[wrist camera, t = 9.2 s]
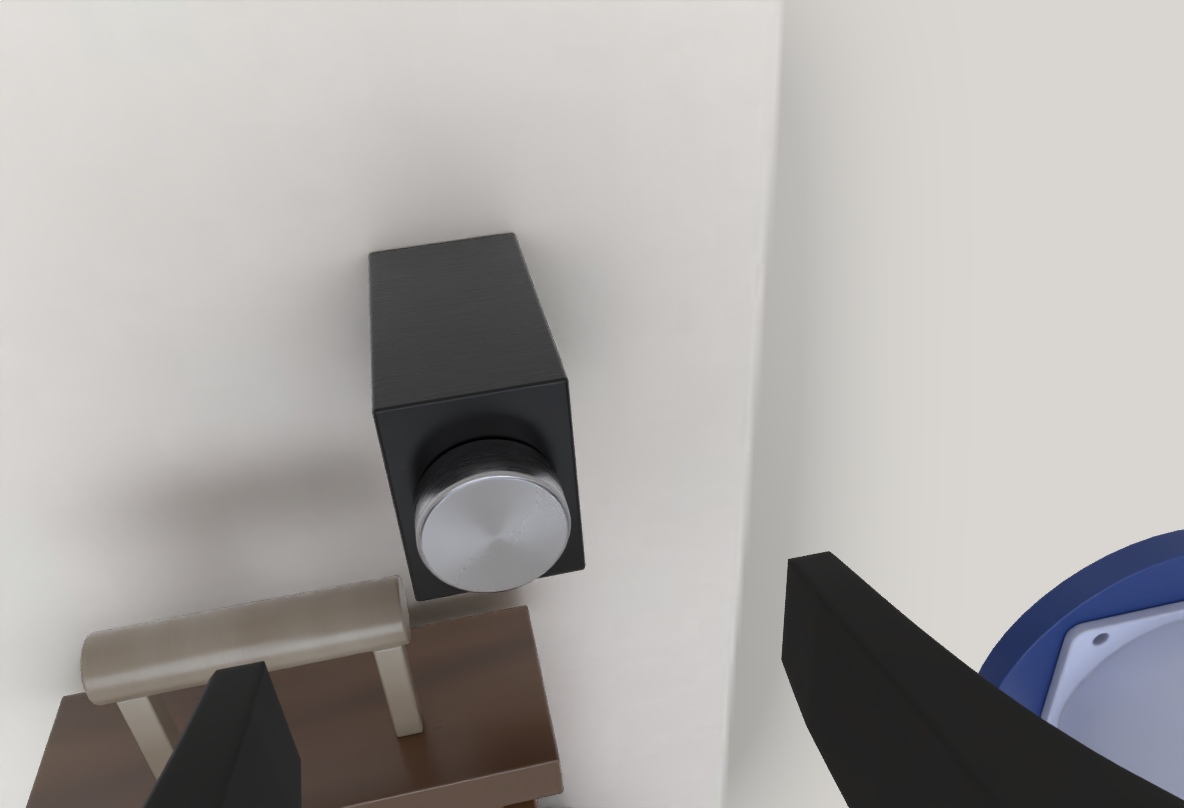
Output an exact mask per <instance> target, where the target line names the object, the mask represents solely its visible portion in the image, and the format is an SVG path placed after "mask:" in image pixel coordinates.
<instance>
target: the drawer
mask: <svg viewBox="0 0 1184 808" xmlns="http://www.w3.org/2000/svg"><path fill="white" fill-rule="evenodd" d="M261 661H264V662H265V664H266V667H267V670H268V672H269V675H270V678H271V680H272V683H273V686H274V689H275V691H276V694H277V697H278V699H279V702H280V705H281V707H282V710H283V713H284V715H285V718H286V721H287V724H288V726H289V729H290V732H291V734H292V737H293V740H294V742H295V745H296V748H297V750H298V753H299V756H300V759H301V794H302V808H538V804H537V799H538V798H542V797H546V796H551V795H555V794H560V793H562V792H563V790H564V788H563V781H562V773H561V766H560V759H559V754H558V749H557V744H556V739H555V735H554V730H553V725H552V720H551V716H550V711H549V706H548V701H547V697H546V692H545V687H544V682H543V678H542V673H541V668H540V663H539V659H538V654H537V649H536V644H535V639H534V635H533V630H532V625H531V620H530V616H529V611H528V607H527V606H526V605H524V606H519V607H514V608H509V609H504V610H499V611H494V612H489V613H484V614H479V615H474V616H469V617H464V618H458V619H453V620H448V621H443V622H438V623H433V624H428V625H423V626H418V627H413V628H410V621H409V613H408V606H407V600H406V595H405V590H404V586H403V582H402V579H401V577H400V576H399V575H394V576H389V577H384V578H378V579H373V580H368V581H363V582H357V583H352V584H347V585H341V586H336V587H331V588H326V589H320V590H315V591H310V592H305V593H299V594H294V595H289V596H283V597H278V598H273V599H268V600H262V601H257V602H252V603H246V604H241V605H236V606H231V607H225V608H220V609H215V610H209V611H204V612H199V613H194V614H188V615H183V616H178V617H172V618H167V619H162V620H157V621H151V622H146V623H141V624H136V625H130V626H125V627H120V628H114V629H109V630H104V631H99V632H93V633H91V634H90V635H89V636H88V637H87V638H86V640H85V642H84V644H83V648H82V653H81V676H82V681H83V686H84V689H85V692H84V693H79V694H74V695H68V696H64V697H63V698H62V700H61V703H60V706H59V709H58V712H57V715H56V718H55V721H54V724H53V727H52V730H51V733H50V736H49V739H48V742H47V745H46V748H45V751H44V754H43V757H42V761H41V764H40V767H39V770H38V773H37V776H36V779H35V782H34V785H33V788H32V791H31V794H30V797H29V800H28V803H27V806H26V808H142V806H143V805H144V803H145V801H146V799H147V798H148V796H149V794H150V792H151V790H152V789H153V787H154V785H155V783H156V782H157V780H158V778H159V776H160V774H161V773H162V771H163V769H164V767H165V765H166V763H167V762H168V760H169V758H170V756H171V754H172V752H173V750H174V748H175V746H176V745H177V743H178V741H179V739H180V737H181V735H182V733H183V731H184V729H185V727H186V725H187V723H188V721H189V719H190V717H191V715H192V713H193V711H194V709H195V707H196V705H197V703H198V701H199V699H200V697H201V695H202V693H203V691H204V689H205V687H206V685H207V683H208V681H209V679H210V677H211V676H212V675H213V674H214V672H215V671H216V670H219V669H225V668H230V667H235V666H240V665H245V664H250V663H256V662H261Z"/></svg>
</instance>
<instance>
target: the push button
mask: <svg viewBox="0 0 1184 808" xmlns="http://www.w3.org/2000/svg"><path fill="white" fill-rule="evenodd" d="M368 261H369V302H370V342H371V383H372V414H373V418H374V422H375V427H376V431H377V435H378V440H379V444H380V448H381V453H382V457H383V461H384V465H385V470H386V474H387V478H388V483H389V487H390V491H391V495H392V500H393V504H394V508H395V513H396V517H397V521H398V525H399V530H400V534H401V538H402V543H403V547H404V551H405V556H406V560H407V564H408V568H409V573H410V577H411V581H412V586H413V590H414V594H415V598H416V600H417V601H425V600H430V599H435V598H440V597H445V596H450V595H456V594H461V593H466V592H475V593H495V592H502V591H507V590H511V589H515V588H518V587H520V586H523V585H525V584H527V583H530V582H532V581H533V580H535V579H538V578H543V577H548V576H553V575H558V574H563V573H568V572H574V571H579V570H583V569H584V568H585V556H584V545H583V534H582V523H581V512H580V501H579V491H578V480H577V469H576V458H575V447H574V436H573V425H572V415H571V404H570V393H569V382H568V378H567V375H566V372H565V370H564V367H563V364H562V362H561V359H560V356H559V353H558V351H557V348H556V345H555V342H554V340H553V337H552V334H551V331H550V329H549V326H548V323H547V321H546V318H545V315H544V312H543V310H542V307H541V304H540V301H539V299H538V296H537V293H536V291H535V288H534V285H533V282H532V280H531V277H530V274H529V271H528V269H527V266H526V263H525V260H524V258H523V255H522V252H521V250H520V247H519V244H518V241H517V239H516V236H515V234H513V233H510V234H503V235H496V236H489V237H482V238H475V239H468V240H461V241H454V242H447V243H440V244H433V245H426V246H419V247H412V248H405V249H398V250H391V251H384V252H377V253H371V254H369V256H368Z"/></svg>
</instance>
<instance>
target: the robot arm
mask: <svg viewBox="0 0 1184 808" xmlns="http://www.w3.org/2000/svg"><path fill="white" fill-rule="evenodd" d="M782 662H783V665H784V668H785V671H786V673H787V676H788V679H789V682H790V684H791V687H792V689H793V692H794V695H795V698H796V700H797V703H798V705H799V708H800V710H801V713H802V716H803V718H804V721H805V723H806V726H807V728H808V730H809V732H810V734H811V736H812V738H813V740H814V742H815V744H816V746H817V747H818V749H819V751H820V753H821V755H822V757H823V759H824V761H825V763H826V765H827V767H828V769H829V771H830V773H831V775H832V776H833V778H834V780H835V782H836V784H837V786H838V788H839V790H840V791H841V794H842V795H843V797H844V799H845V801H846V803H847V805H848V807H849V808H1184V601H1180V602H1175V603H1171V604H1166V605H1161V606H1157V607H1152V608H1148V609H1143V610H1139V611H1134V612H1129V613H1125V614H1120V615H1116V616H1111V617H1106V618H1102V619H1097V620H1093V621H1088V622H1083V623H1080V624H1077V625H1075V626H1073V627H1072V628H1071V629H1070V630H1069V631H1068V632H1067V633H1066V635H1065V638H1064V641H1063V645H1062V648H1061V651H1060V654H1059V658H1058V661H1057V664H1056V668H1055V671H1054V674H1053V677H1052V681H1051V684H1050V687H1049V690H1048V694H1047V697H1046V700H1045V704H1044V707H1043V710H1042V713H1041V717H1039V716H1037V715H1036V714H1034V713H1033V712H1032V711H1030V710H1029V709H1027V708H1026V707H1024V706H1023V705H1021V704H1020V703H1018V702H1017V701H1015V700H1014V699H1013V698H1011V697H1010V696H1008V695H1007V694H1006V693H1004V692H1003V691H1002V690H1000V689H999V688H997V687H996V686H995V685H993V684H992V683H990V682H989V681H988V680H986V679H985V678H983V677H982V676H981V675H979V674H978V673H977V672H975V671H974V670H973V669H971V668H970V667H969V666H967V665H966V664H965V663H964V662H962V661H961V660H960V659H958V658H957V657H956V656H954V655H953V654H952V653H951V652H949V651H948V650H947V649H946V648H944V647H943V646H942V645H940V644H939V643H938V642H937V641H935V640H934V639H933V638H932V637H931V636H929V635H928V634H927V633H925V632H924V631H923V630H922V629H920V628H919V627H918V626H917V625H916V624H914V623H913V622H912V621H911V620H909V619H908V618H907V617H906V616H905V615H904V614H902V613H901V612H900V611H899V610H898V609H896V608H895V607H894V606H893V605H892V604H891V603H889V602H888V601H887V600H886V599H885V598H883V597H882V596H881V595H880V594H879V593H878V592H876V591H875V590H874V589H873V588H872V587H871V586H870V585H868V584H867V583H866V582H865V581H864V580H863V579H861V578H860V577H859V576H858V575H857V574H855V572H853V571H852V570H851V569H850V568H849V567H848V566H846V565H845V564H844V563H843V562H842V561H841V560H839V559H838V558H837V557H836V556H835V555H833V554H832V553H831V552H829V551H828V552H823V553H818V554H812V555H807V556H802V557H797V558H792V559H788V569H787V584H786V600H785V614H784V629H783V644H782ZM142 808H302V794H301V759H300V756H299V753H298V750H297V748H296V745H295V742H294V740H293V737H292V734H291V732H290V729H289V726H288V724H287V721H286V718H285V715H284V713H283V710H282V707H281V705H280V702H279V699H278V697H277V694H276V691H275V689H274V686H273V683H272V680H271V678H270V675H269V672H268V670H267V667H266V664H265V662H264V661H261V662H256V663H250V664H245V665H240V666H235V667H230V668H225V669H219V670H216V671H215V672H214V674H213V675H212V676H211V677H210V679H209V681H208V683H207V685H206V687H205V689H204V691H203V693H202V695H201V697H200V699H199V701H198V703H197V705H196V707H195V709H194V711H193V713H192V715H191V717H190V719H189V721H188V723H187V725H186V727H185V729H184V731H183V733H182V735H181V737H180V739H179V741H178V743H177V745H176V746H175V748H174V750H173V752H172V754H171V756H170V758H169V760H168V762H167V763H166V765H165V767H164V769H163V771H162V773H161V774H160V776H159V778H158V780H157V782H156V783H155V785H154V787H153V789H152V790H151V792H150V794H149V796H148V798H147V799H146V801H145V803H144V805H143V806H142Z"/></svg>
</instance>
